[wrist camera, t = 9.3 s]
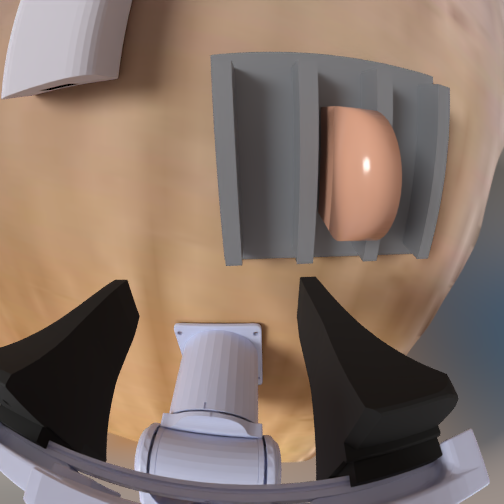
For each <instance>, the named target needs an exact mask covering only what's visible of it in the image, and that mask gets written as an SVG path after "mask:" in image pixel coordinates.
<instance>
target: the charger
mask: <svg viewBox="0 0 504 504" xmlns="http://www.w3.org/2000/svg"><path fill="white" fill-rule="evenodd" d="M131 4H132V0H21V1H20V4H19V7H18V11H17V14H16V17H15V21H14V25H13V28H12V33H11V37H10V41H9V46H8V51H7V57H6V62H5V69H4V77H3V85H2V97H1V99H8V98H16V97H24V96H32V95H37V94H41V93H45V92H49V91H53V90H57V89H61V88H57V89H53V90H45V91H41V90H44V89H48V88H52V87H56V86H60V85H65V84H76V85H81V84H87V83H93V82H99V81H106V80H113V79H118V76H119V68H120V61H121V54H122V48H123V42H124V36H125V31H126V26H127V21H128V16H129V12H130V8H131ZM76 85H71V86H76ZM71 86H66V87H71ZM66 87H62V88H66Z"/></svg>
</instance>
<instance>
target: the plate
mask: <svg viewBox="0 0 504 504" xmlns="http://www.w3.org/2000/svg"><path fill="white" fill-rule="evenodd" d="M401 188H402V164H401V156H400V150H399V146H398V142H397V139H396V136H395V133H394V131H393V128H392V126H391V125H390V123H389V121H388V120H387V119H386V117H385V116H384V115H383V114H381V113H380V112H378V111H375V110H368V109H360V108H352V107H341V106H330V107H321V155H320V187H319V208H318V213H319V215H320V216H321V218H322V220H323V221H324V223H325V225H326V227H327V228H328V230H329V231H330V233H331V235H332V237H333V238H334V239H335V240H337V241H373V240H379V239H381V238H382V237H384V236H385V235H386V234H387V232H388V231H389V229H390V228H391V226H392V224H393V222H394V219H395V217H396V214H397V210H398V207H399V202H400V196H401Z"/></svg>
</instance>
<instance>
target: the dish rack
mask: <svg viewBox="0 0 504 504" xmlns="http://www.w3.org/2000/svg"><path fill="white" fill-rule="evenodd" d="M211 77H212V98H213V116H214V133H215V148H216V163H217V176H218V189H219V201H220V213H221V225H222V236H223V246H224V257H225V261H226V266H237V265H242V260H243V259H264V258H296V262H297V264H306V263H313V257H330V256H360V258H361V259H362V261H376V260H377V255H388V254H413V255H414V256H415V257H416V258H417V259H425V258H428V256H429V252H430V248H431V244H432V240H433V236H434V232H435V227H436V223H437V218H438V213H439V208H440V203H441V197H442V191H443V185H444V178H445V170H446V162H447V152H448V139H449V120H450V88H448V87H445V86H442V85H439V84H433V77H432V76H429V75H426V74H423V73H419V72H416V71H412V70H408V69H404V68H401V67H396V66H392V65H388V64H383V63H378V62H373V61H368V60H362V59H356V58H349V57H342V56H334V55H324V54H313V53H296V52H246V53H229V54H217V55H211ZM330 106H341V107H352V108H360V109H368V110H375V111H378V112H380V113H381V114H383V115H384V116H385V117H386V119H387V120H388V121H389V123H390V125H391V126H392V128H393V131H394V133H395V136H396V139H397V142H398V146H399V150H400V156H401V164H402V188H401V196H400V202H399V207H398V210H397V214H396V217H395V219H394V222H393V224H392V226H391V228H390V229H389V231H388V232H387V234H386V235H385V236H384V237H382V238H381V239H379V240H373V241H337V240H335V239H334V238H333V237H332V235H331V233H330V231H329V230H328V228H327V227H326V225H325V223H324V221H323V220H322V218H321V216H320V215H319V213H318V208H319V187H320V155H321V107H330Z"/></svg>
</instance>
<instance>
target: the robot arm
mask: <svg viewBox="0 0 504 504" xmlns="http://www.w3.org/2000/svg"><path fill="white" fill-rule="evenodd" d="M138 320H139V313H138V311H137V308H136V305H135V302H134V299H133V296H132V293H131V290H130V287H129V284H128V281H127V280H114V281H113V282H111V283H109V284H108V285H106V286H105V287H103V288H102V289H101V290H99V291H98V292H97V293H95V294H94V295H93V296H91V297H90V298H89V299H87V300H86V301H85V302H83V303H82V304H81V305H79V306H78V307H76V308H75V309H74V310H72V311H71V312H69V313H68V314H67V315H65V316H64V317H62V318H61V319H59V320H58V321H56V322H55V323H53V324H51V325H50V326H48V327H46V328H44V329H43V330H41V331H39V332H37V333H35V334H33V335H31V336H29V337H27V338H25V339H22V340H20V341H18V342H15V343H13V344H10V345H7V346H4V347H1V348H0V471H1V472H2V473H3V474H4V475H5V476H7V477H8V478H9V479H10V480H11V481H12V482H14V483H15V484H16V485H17V486H19V487H20V488H21V489H23V490H24V491H25V493H24V497H23V499H24V501H25V503H26V504H140V503H136V502H133V501H130V500H126V499H123V498H120V496H121V495H120V494H119V493H118V492H115V491H113V490H111V489H108V488H106V487H105V486H103V485H101V484H99V483H97V482H96V481H94V480H93V479H91V478H88V477H86V476H84V475H82V474H80V473H79V472H78V471H80V472H82V473H85V474H87V475H90V476H92V477H95V478H98V479H101V480H104V481H106V482H109V483H113V484H116V485H119V486H122V487H126V488H129V489H133V490H137V491H139V494H140V502H141V504H297V503H298V504H458V503H460V502H462V501H463V500H465V499H467V498H468V497H470V496H472V495H473V494H475V493H476V492H478V491H479V490H481V489H483V488H484V487H486V486H487V485H489V483H490V480H489V476H488V473H487V470H486V467H485V464H484V461H483V457H482V455H481V452H480V449H479V446H478V443H477V441H476V438H475V436H474V433H473V430H472V429H468V430H466V431H464V432H462V433H459V434H458V435H455V436H453V437H451V438H449V439H447V440H445V441H443V442H441V443H440V444H439V442H438V439H437V437H438V436H439V435H440V430H439V427H438V425H439V424H440V423H441V422H442V421H443V420H444V419H445V418H446V417H447V416H448V414H449V413H450V412H451V411H452V410H453V409H454V407H455V406H456V403H457V401H458V395H457V393H456V392H455V389H454V387H453V385H452V383H451V381H450V379H449V377H448V376H447V374H445V373H442V372H440V371H438V370H435V369H433V368H430V367H428V366H425V365H423V364H421V363H419V362H417V361H415V360H413V359H411V358H409V357H407V356H405V355H404V354H402V353H400V352H398V351H397V350H395V349H394V348H392V347H391V346H389V345H387V344H386V343H384V342H383V341H381V340H380V339H379V338H377V337H376V336H375V335H373V334H372V333H371V332H369V331H368V330H367V329H366V328H364V327H363V326H362V325H361V324H360V323H358V322H357V321H356V320H355V319H354V318H353V317H352V316H351V315H350V314H349V313H348V312H347V311H346V310H345V309H344V308H343V307H342V306H341V305H340V304H339V303H338V302H337V301H336V300H335V299H334V297H333V296H332V295H331V294H330V293H329V292H328V291H327V290H326V288H325V287H324V286H323V285H322V284H321V282H320V281H319V280H318V279H317V278H316V277H300V285H299V298H298V311H297V321H298V330H299V338H300V343H301V347H302V351H303V356H304V360H305V364H306V369H307V373H308V377H309V382H310V387H311V394H312V403H313V414H314V427H315V444H316V481H309V482H300V483H287V484H281V455H280V449H279V446H278V444H277V442H276V441H274V440H273V438H272V437H271V436H269V435H263V436H262V424H259V423H258V385H261V384H262V332H261V325H260V324H257V323H247V324H199V323H176V324H175V325H174V331H175V334H176V337H177V341H178V344H179V347H180V350H181V353H182V360H181V364H180V368H179V373H178V377H177V381H176V385H175V390H174V394H173V399H172V403H171V408H170V412H169V413H163V416H162V421H161V424H160V423H152V424H151V425H150V426H149V427H148V428H146V429H145V430H144V431H143V433H142V434H141V436H140V439H139V442H138V445H137V449H136V455H135V470H131V469H127V468H123V467H120V466H116V465H113V464H109V463H106V447H107V431H108V421H109V414H110V408H111V403H112V398H113V394H114V389H115V385H116V382H117V379H118V376H119V373H120V370H121V368H122V365H123V363H124V360H125V358H126V355H127V353H128V351H129V348H130V346H131V343H132V341H133V338H134V335H135V332H136V328H137V324H138ZM179 331H180V332H179ZM254 332H258V333H254ZM306 502H310V503H306Z"/></svg>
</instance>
